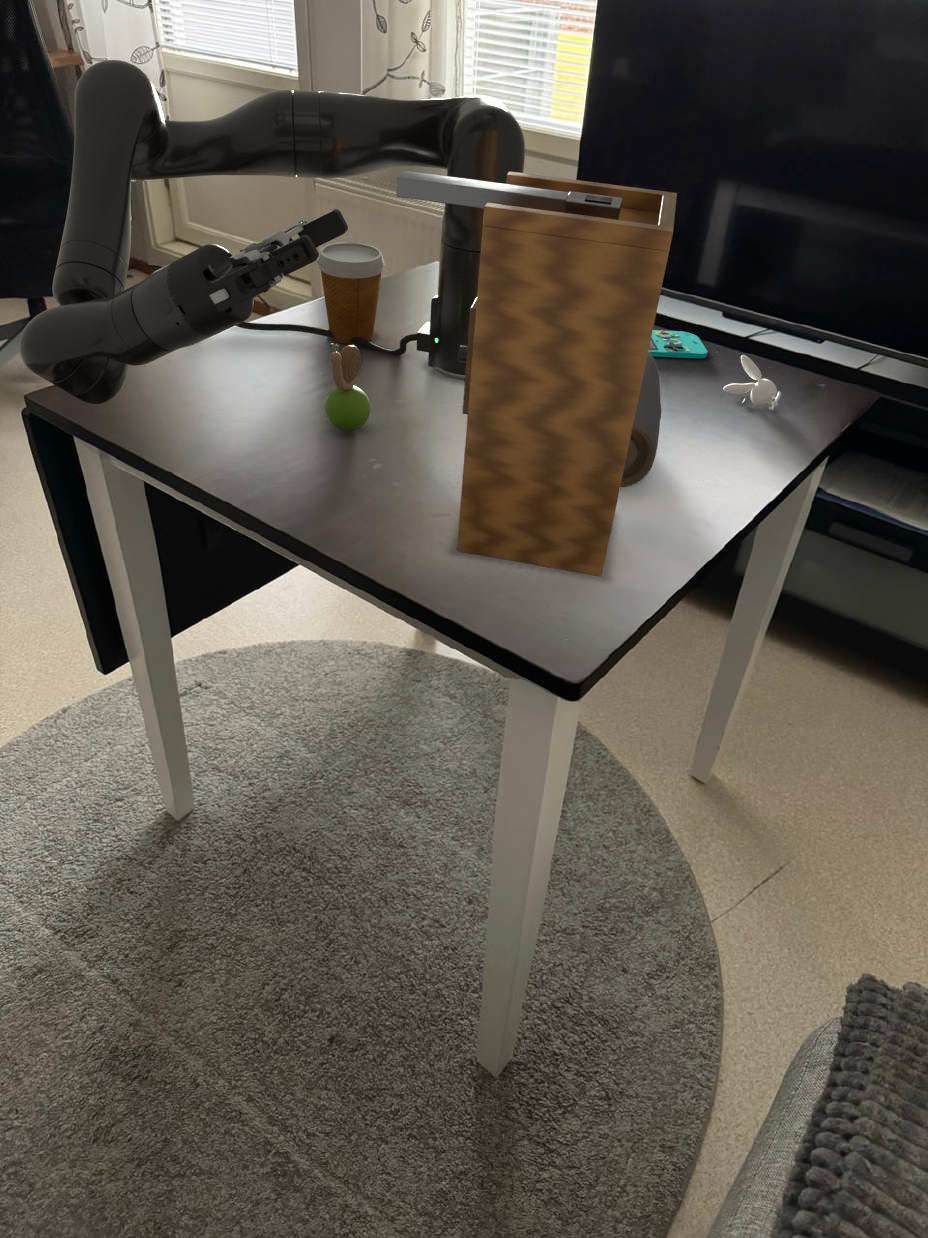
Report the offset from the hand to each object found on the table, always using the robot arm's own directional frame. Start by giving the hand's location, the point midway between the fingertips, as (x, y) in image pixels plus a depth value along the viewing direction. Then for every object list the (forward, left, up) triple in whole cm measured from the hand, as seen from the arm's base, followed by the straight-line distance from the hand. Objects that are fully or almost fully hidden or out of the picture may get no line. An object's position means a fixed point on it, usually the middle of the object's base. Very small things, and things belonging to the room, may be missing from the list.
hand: (328, 232), depth 83 cm
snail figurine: (-7, +14, -28) cm, 32 cm away
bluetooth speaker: (+23, +28, -28) cm, 46 cm away
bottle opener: (+16, +4, +4) cm, 18 cm away
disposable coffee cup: (-22, +39, -28) cm, 53 cm away
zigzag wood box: (+22, +6, -28) cm, 36 cm away
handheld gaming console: (+17, +63, -28) cm, 71 cm away
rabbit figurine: (+34, +52, -28) cm, 68 cm away
